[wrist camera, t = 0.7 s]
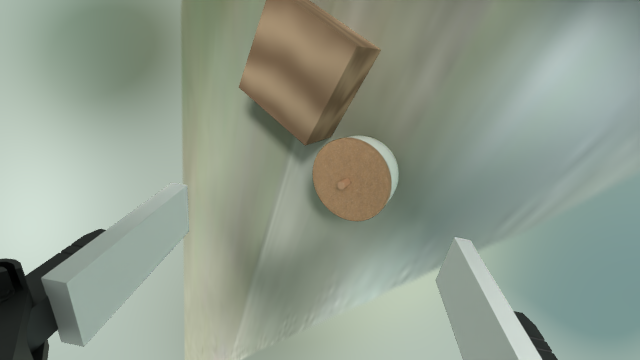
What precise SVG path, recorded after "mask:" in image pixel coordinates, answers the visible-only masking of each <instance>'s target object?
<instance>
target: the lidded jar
mask: <svg viewBox="0 0 640 360" xmlns="http://www.w3.org/2000/svg"><path fill="white" fill-rule="evenodd" d="M398 179H399V171H398V165H397V161H396V159H395V157H394V155H393V153H392V152H391V151H390V149H389V148H388V147H387V146H386V145H384V144H383V143H382V142H380V141H379V140H377V139H374V138H371V137H367V136H350V137H346V138H340V139H336V140H333V141H331V142H329V143H328V144H326V145H325V146H324V147H323V148H322V149H321V150H320V151H319V153H318V154H317V156H316V159H315V161H314V165H313V182H314V186H315V190H316V192H317V194H318V196H319V198H320V200H321V201H322V202H323V204H324V205H325V206H326V207H327V208H328V209H329V210H330V211H331V212H333V213H334V214H335V215H337V216H339V217H341V218H343V219H346V220H350V221H364V220H368V219H370V218H372V217H374V216H375V215H377V214H378V213H379V212H380V211H381V210H382V209H383V208H384V207H385V205H386V204H387V203H388V202H389V200H390V199H391V197H392V196H393V194H394V192H395V190H396V187H397V184H398Z"/></svg>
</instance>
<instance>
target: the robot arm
mask: <svg viewBox="0 0 640 360" xmlns="http://www.w3.org/2000/svg"><path fill="white" fill-rule="evenodd" d="M188 232H189V218H188V192H187V185H184V184H179V183H174V182H172V183H171V184H169V185H168V186H166V187H165V188H164V189H162V190H161V191H159V192H158V193H157V194H155V195H154V196H153V197H151V198H150V199H148V200H147V201H146V202H144V203H143V204H142V205H140V206H139V207H137V208H136V209H135V210H133V211H132V212H131V213H129V214H128V215H126V216H125V217H124V218H122V219H121V220H120V221H118V222H117V223H115V224H114V225H113V226H111V227H110V228H109V229H107V230H103V229H99V230H96V231H94V232H91V233H89V234H86V235H84V236H83V237H81V238H80V239H78V240H77V241H75V242H74V243H73V244H72V245H71V246H68V247H67V248H66V249H64V250H62V251H61V253H58V254H57V255H55V256H54V257H52V258H51V259H49V260H48V261H46V262H45V263H44V264H42V265H41V266H39V267H38V268H36V269H35V270H33V271H32V272H30V273H29V274H28V275H26V276H25V274H24V272H23V269H22V266H21V263H20V262H18V261H17V260H13V259H0V360H47V358H48V350H49V344H48V340H47V339H48V338H49V337H50V336H51V335H52V334H53V333H54V332H55V331H57V330H58V332H59V335H60V339H61V341H62V342H65V343H69V344H74V345H79V346H83V347H84V346H85V345H86V344H87V343H88V342H89V341H90V340H91V338H92V337H93V336H94V335H95V334H96V333H97V332H98V330H99V329H100V328H101V327H102V326H103V325H104V324H105V323H106V322H107V321H108V320H109V318H111V316H112V315H113V314H114V313H115V312H116V311H117V310H118V309H119V308H120V307H121V305H122V304H123V303H124V302H125V301H126V300H127V299H128V298H129V297H130V296H131V294H132V293H133V292H134V291H135V290H136V289H137V288H138V287H139V286H140V284H141V283H142V282H143V281H144V280H145V279H146V278H147V277H148V276H149V274H151V272H152V271H153V270H154V269H155V268H156V267H157V266H158V265H159V264H160V262H161V261H162V260H163V259H164V258H165V257H166V256H167V255H168V254H169V253H170V251H171V250H172V249H173V248H174V247H175V246H176V245H177V244H178V243H179V242H180V241H181V239H182V238H183V237H184V236H185V235H186V234H187V233H188ZM436 283H437V286H438V288H439V291H440V294H441V297H442V300H443V303H444V306H445V309H446V312H447V315H448V317H449V320H450V323H451V326H452V329H453V332H454V335H455V338H456V341H457V343H458V346H459V349H460V352H461V355H462V358H463V360H558V359H557V358H556V356H555V355H554V354H553V353H552V350H551V349H550V347H549V346H548V344H547V342H545V341H544V338H543V336H542V335H541V333H540V332H539V330H538V329H537V327H536V326H535V325H534V324H533V323H532V322H531V321H530V320H529V319H528V318H527V317H526V316H525V315H524V314H523V313H519V312H515V311H513V310H512V308H511V307H510V305H509V303H508V302H507V300H506V298H505V297H504V295H503V293H502V292H501V290H500V288H499V287H498V285H497V284H496V282H495V280H494V279H493V277H492V275H491V273H490V272H489V270H488V268H487V267H486V265H485V264H484V262H483V260H482V258H481V257H480V255H479V253H478V252H477V250H476V249H475V247H474V245H473V244H472V242H471V240H468V239H463V238H458V237H454V238H453V241H452V243H451V245H450V248H449V250H448V252H447V255H446V257H445V260H444V262H443V264H442V267H441V269H440V271H439V274H438V276H437V278H436Z"/></svg>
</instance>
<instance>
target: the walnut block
mask: <svg viewBox="0 0 640 360" xmlns="http://www.w3.org/2000/svg"><path fill="white" fill-rule="evenodd" d="M380 51H381V49H379V48H378V47H376V46H375V45H373V44H372V43H370V42H369V41H367V40H366V39H365V38H363V37H362V36H360V35H359V34H357V33H356V32H354V31H353V30H351V29H350V28H349V27H347V26H346V25H344V24H343V23H341V22H340V21H338V20H337V19H335V18H334V17H333V16H331V15H330V14H328V13H327V12H325V11H324V10H322V9H321V8H319V7H318V6H317V5H315V4H314V3H312V2H311V1H309V0H266V2H265V5H264V9H263V12H262V15H261V18H260V21H259V25H258V28H257V31H256V34H255V37H254V40H253V44H252V47H251V50H250V53H249V56H248V59H247V63H246V66H245V69H244V72H243V75H242V79H241V82H240V85H239V88H240V89H241V90H242V91H244V92H245V93H246V94H247V95H248V96H249V97H250V98H252V99H253V100H254V101H255V102H256V103H257V104H258V105H260V106H261V107H262V108H263V109H264V110H265V111H266V112H267V113H269V114H270V115H271V116H272V117H273V118H274V119H275V120H277V121H278V122H279V123H280V124H281V125H282V126H283V127H285V128H286V129H287V130H288V131H289V132H290V133H291V134H293V135H294V136H295V137H296V138H297V139H298V140H299V141H301V142H302V143H303V144H304V145H308V144H311V143H314V142H317V141H321V140H324V139H327V138H330V137H331V136H332V134H333V133H334V131H335V129H336V127H337V126H338V124H339V122H340V120H341V119H342V117H343V115H344V113H345V112H346V110H347V108H348V107H349V105H350V103H351V101H352V100H353V98H354V96H355V94H356V93H357V91H358V89H359V87H360V86H361V84H362V82H363V80H364V79H365V77H366V75H367V74H368V72H369V70H370V68H371V67H372V65H373V63H374V61H375V60H376V58H377V56H378V54H379V53H380Z"/></svg>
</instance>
